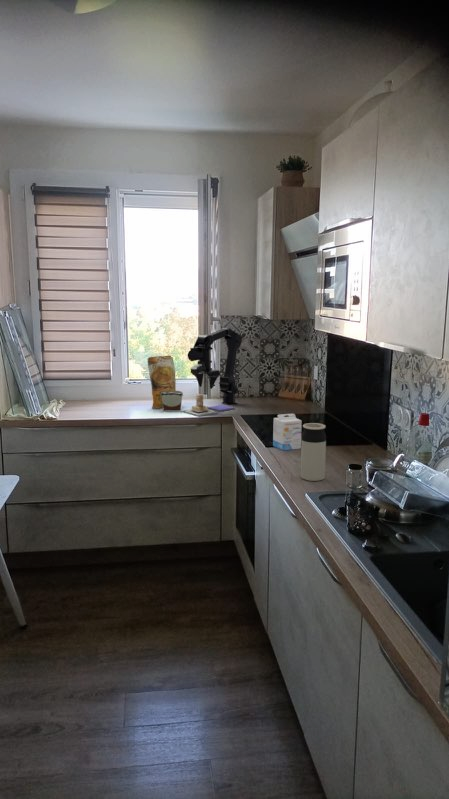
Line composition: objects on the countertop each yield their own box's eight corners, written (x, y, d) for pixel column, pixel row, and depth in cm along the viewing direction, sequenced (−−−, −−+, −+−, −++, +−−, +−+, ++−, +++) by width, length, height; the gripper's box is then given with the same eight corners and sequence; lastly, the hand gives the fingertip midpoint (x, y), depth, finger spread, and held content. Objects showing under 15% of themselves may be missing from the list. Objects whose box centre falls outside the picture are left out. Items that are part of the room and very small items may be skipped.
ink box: (282, 451, 216) (283, 417, 214) (272, 445, 224) (272, 413, 221) (301, 448, 219) (302, 415, 217) (290, 443, 227) (291, 411, 225)
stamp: (201, 409, 292) (200, 394, 290) (208, 411, 287) (207, 395, 286) (191, 411, 288) (191, 395, 286) (198, 413, 283) (198, 396, 282)
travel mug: (316, 483, 179) (317, 429, 175) (296, 478, 184) (297, 425, 181) (329, 477, 184) (331, 425, 181) (309, 472, 190) (310, 421, 186)
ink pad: (221, 406, 304) (221, 404, 304) (234, 409, 296) (234, 407, 296) (206, 408, 297) (206, 407, 297) (219, 412, 289) (219, 410, 289)
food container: (185, 408, 298) (185, 390, 296) (183, 411, 292) (183, 392, 290) (163, 408, 300) (162, 390, 298) (160, 410, 294) (160, 392, 292)
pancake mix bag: (145, 407, 301) (143, 357, 296) (173, 403, 314) (172, 354, 308) (152, 409, 296) (151, 357, 291) (180, 404, 309) (179, 355, 304)
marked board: (200, 409, 297) (200, 407, 297) (217, 413, 286) (217, 411, 286) (182, 412, 290) (182, 410, 289) (199, 416, 278) (199, 415, 278)
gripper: (182, 359, 293) (183, 387, 297) (204, 362, 279) (205, 392, 283) (198, 356, 300) (199, 384, 304) (220, 359, 287) (221, 389, 290)
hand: (205, 387), depth 295 cm, fingers open, 9 cm apart
